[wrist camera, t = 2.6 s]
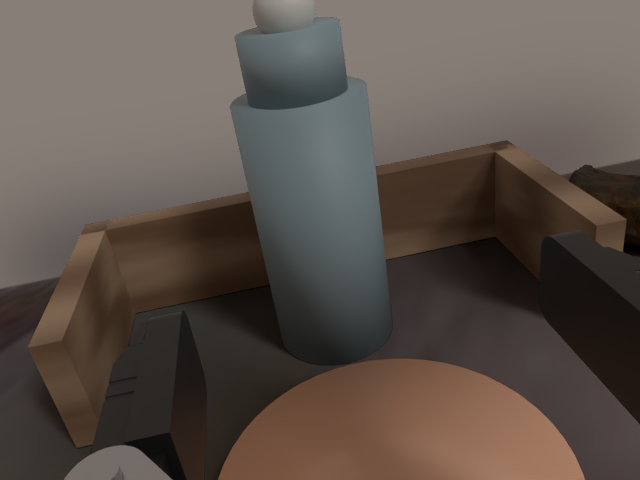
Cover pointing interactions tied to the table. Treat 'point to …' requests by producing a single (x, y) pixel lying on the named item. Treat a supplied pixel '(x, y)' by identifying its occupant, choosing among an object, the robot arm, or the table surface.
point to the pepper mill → (312, 184)
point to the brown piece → (613, 196)
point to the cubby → (249, 266)
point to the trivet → (401, 429)
